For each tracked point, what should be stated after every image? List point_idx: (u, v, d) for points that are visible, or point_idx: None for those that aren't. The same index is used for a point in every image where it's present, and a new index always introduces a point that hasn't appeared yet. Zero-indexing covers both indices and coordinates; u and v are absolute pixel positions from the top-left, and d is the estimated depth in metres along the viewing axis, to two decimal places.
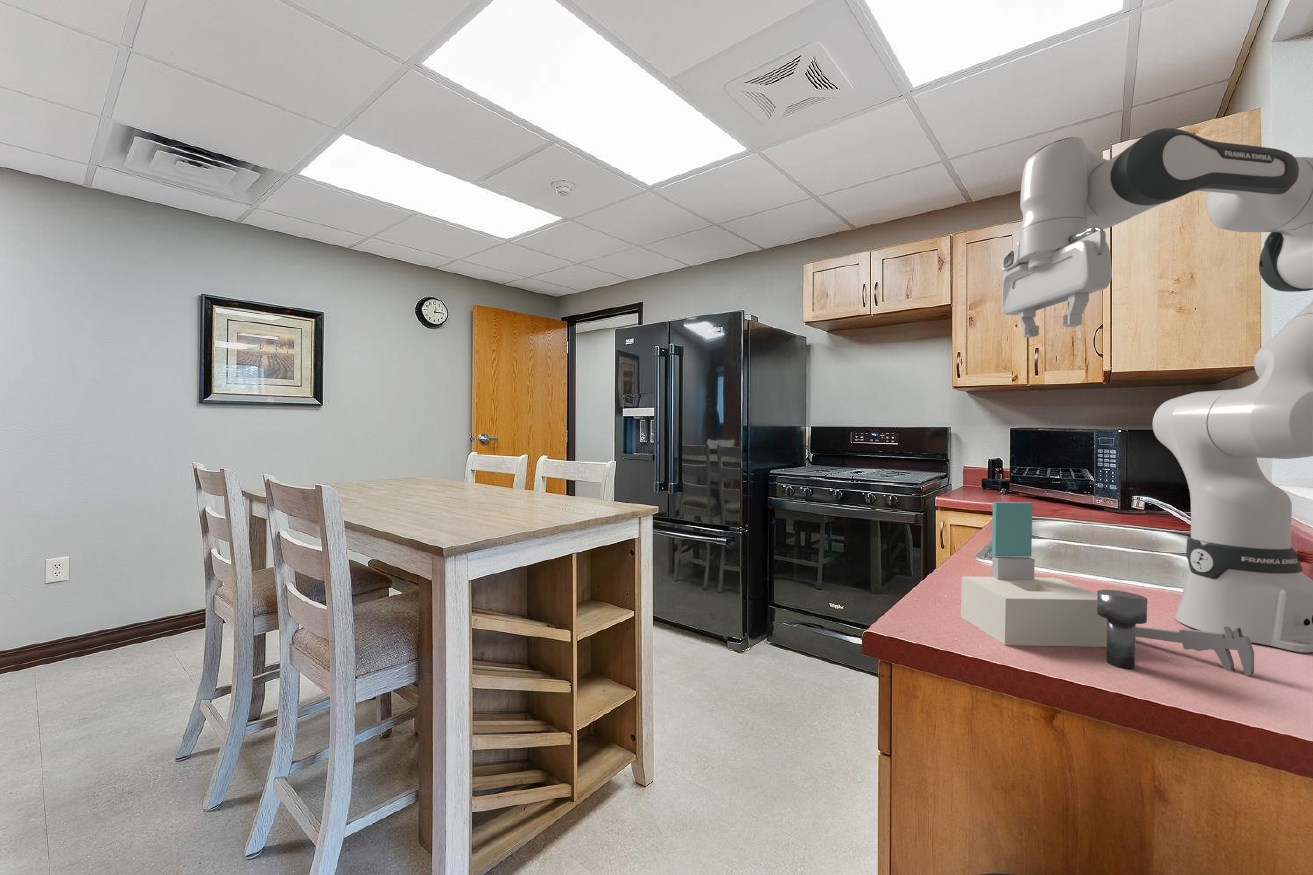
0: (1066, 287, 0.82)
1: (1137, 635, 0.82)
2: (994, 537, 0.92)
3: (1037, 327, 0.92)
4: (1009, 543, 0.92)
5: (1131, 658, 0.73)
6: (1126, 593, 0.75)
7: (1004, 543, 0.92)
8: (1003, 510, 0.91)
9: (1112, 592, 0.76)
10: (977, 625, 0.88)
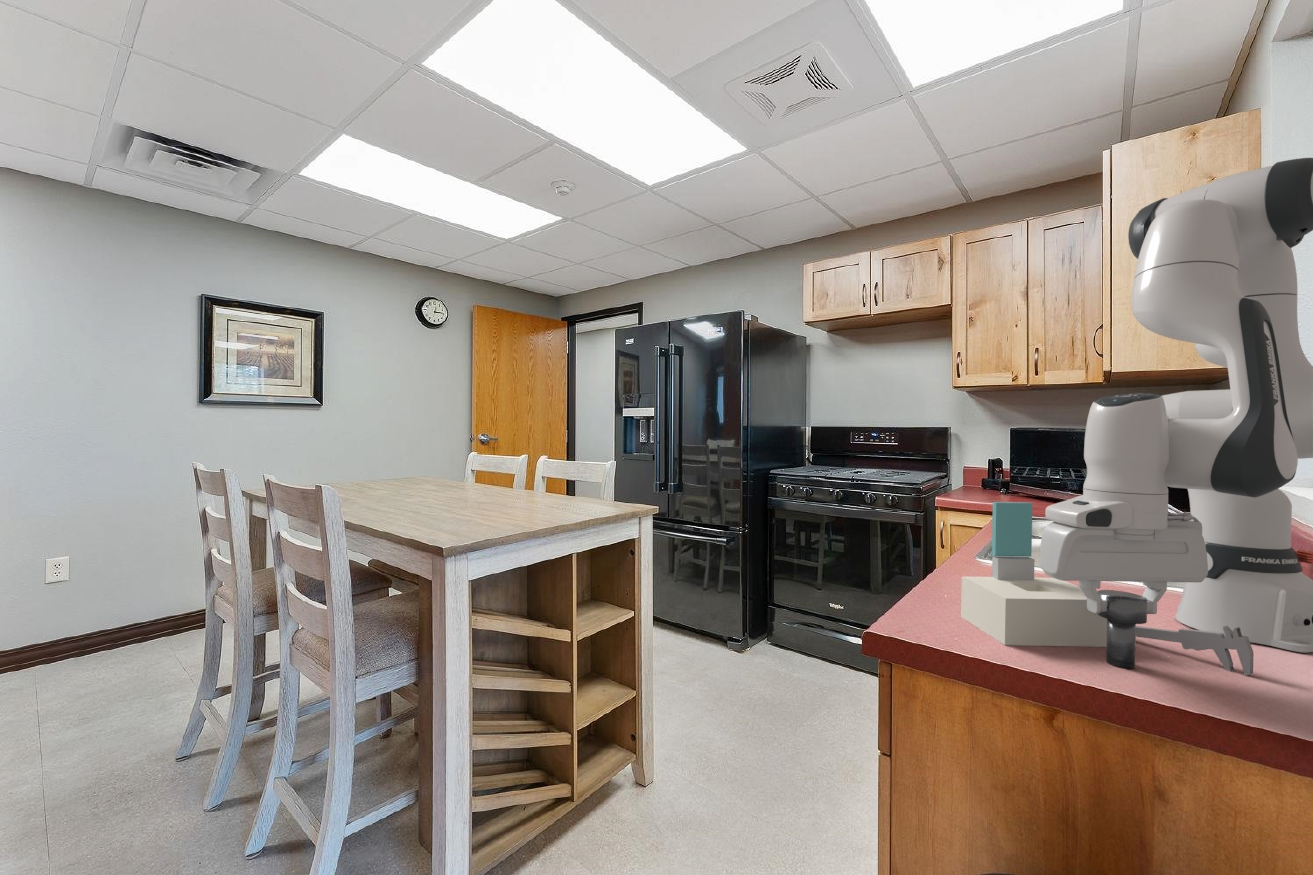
0: (1179, 576, 0.72)
1: (1136, 635, 0.82)
2: (994, 537, 0.92)
3: None
4: (1009, 543, 0.92)
5: (1131, 658, 0.73)
6: (1126, 593, 0.75)
7: (1004, 543, 0.92)
8: (1003, 510, 0.91)
9: (1112, 592, 0.76)
10: (977, 625, 0.88)
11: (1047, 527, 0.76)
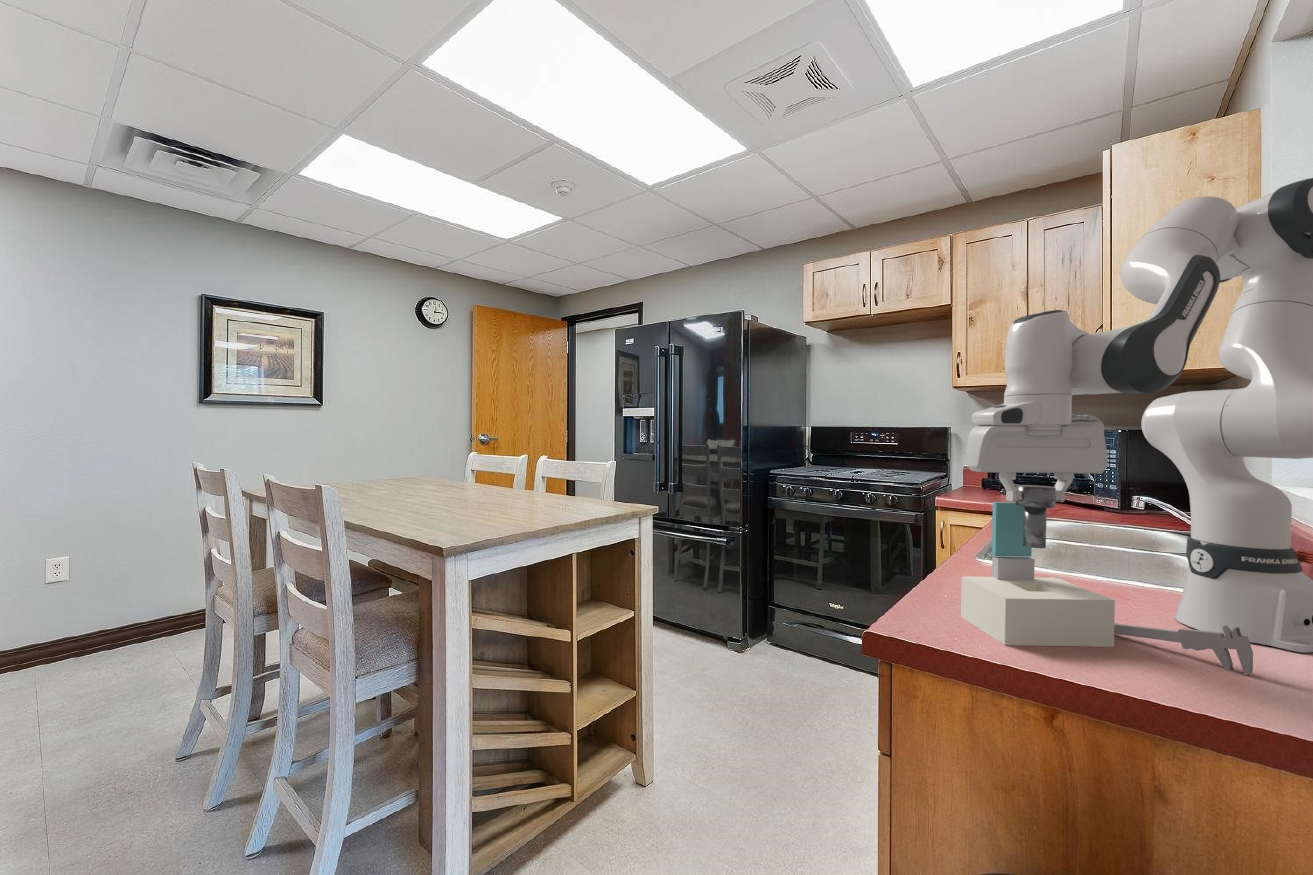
0: (1082, 467, 0.84)
1: (1136, 635, 0.82)
2: (994, 537, 0.92)
3: None
4: (1009, 543, 0.92)
5: (1042, 539, 0.85)
6: (1040, 486, 0.87)
7: (1004, 543, 0.92)
8: (1003, 510, 0.91)
9: (1028, 485, 0.87)
10: (977, 625, 0.88)
11: (972, 430, 0.88)
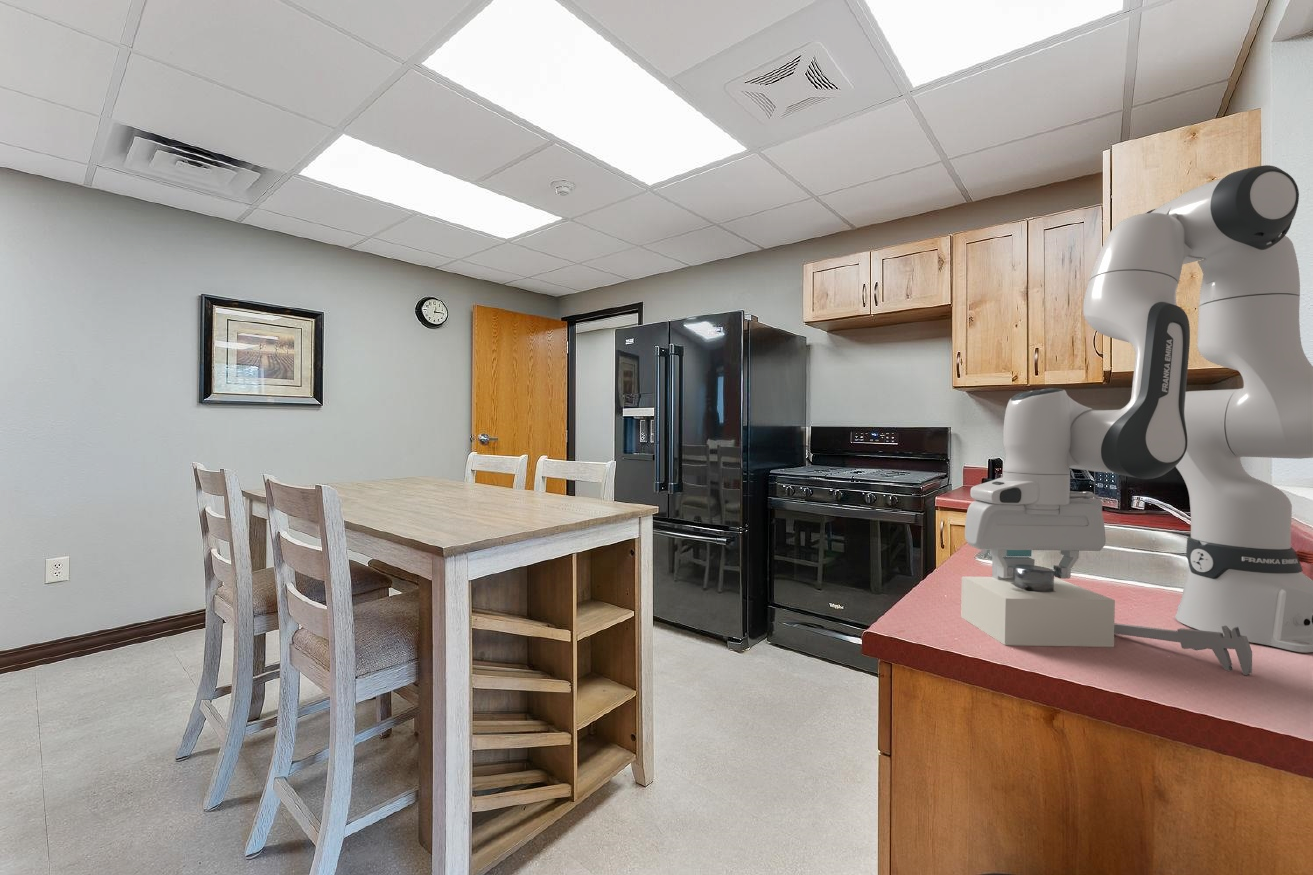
0: (1080, 545, 0.84)
1: (1135, 634, 0.82)
2: None
3: None
4: None
5: None
6: (1038, 567, 0.87)
7: None
8: None
9: (1027, 566, 0.88)
10: (977, 625, 0.88)
11: (971, 504, 0.88)
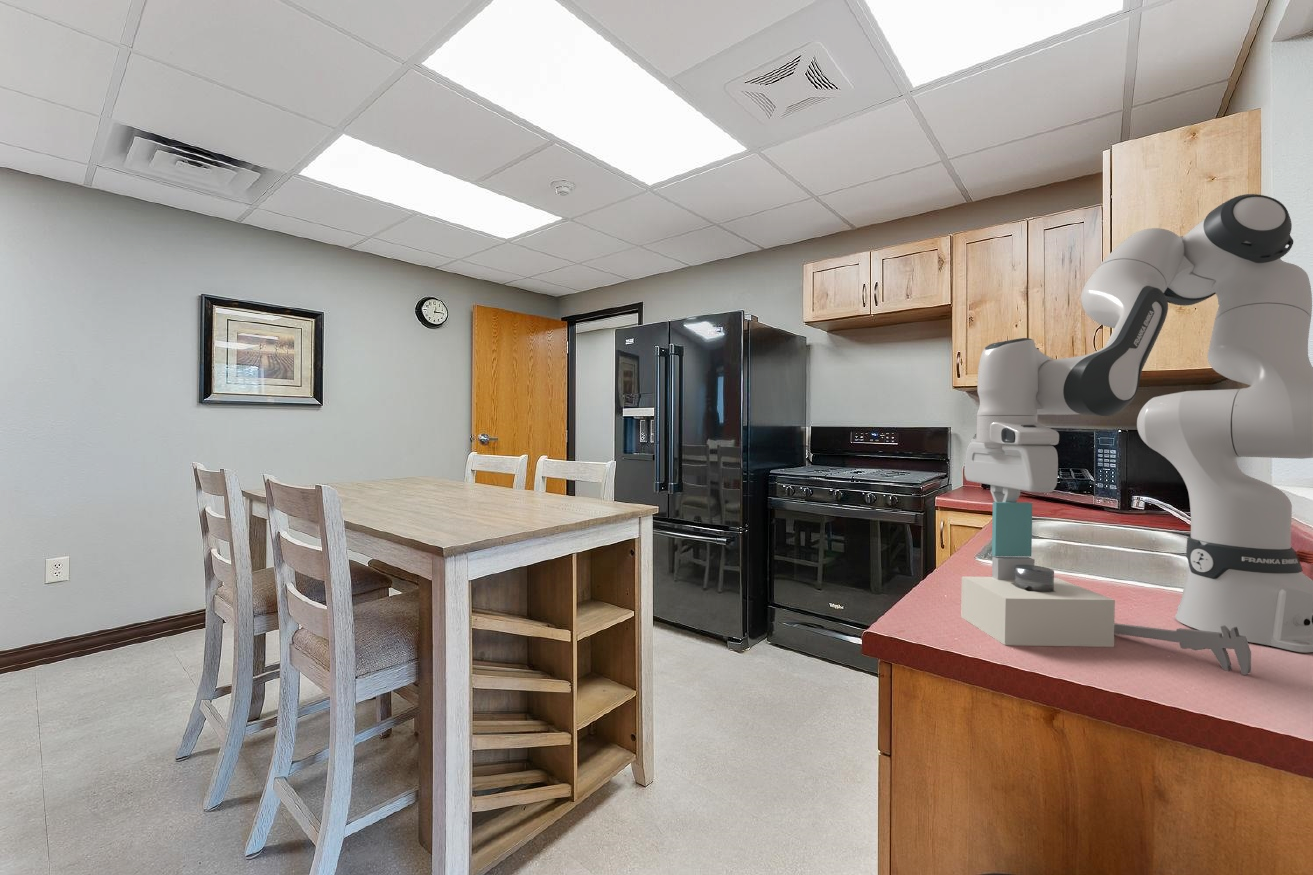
0: None
1: (1134, 634, 0.82)
2: (994, 537, 0.92)
3: None
4: (1009, 543, 0.92)
5: None
6: (1038, 567, 0.87)
7: (1004, 543, 0.92)
8: (1003, 510, 0.91)
9: (1027, 566, 0.88)
10: (977, 625, 0.88)
11: (1030, 449, 0.85)
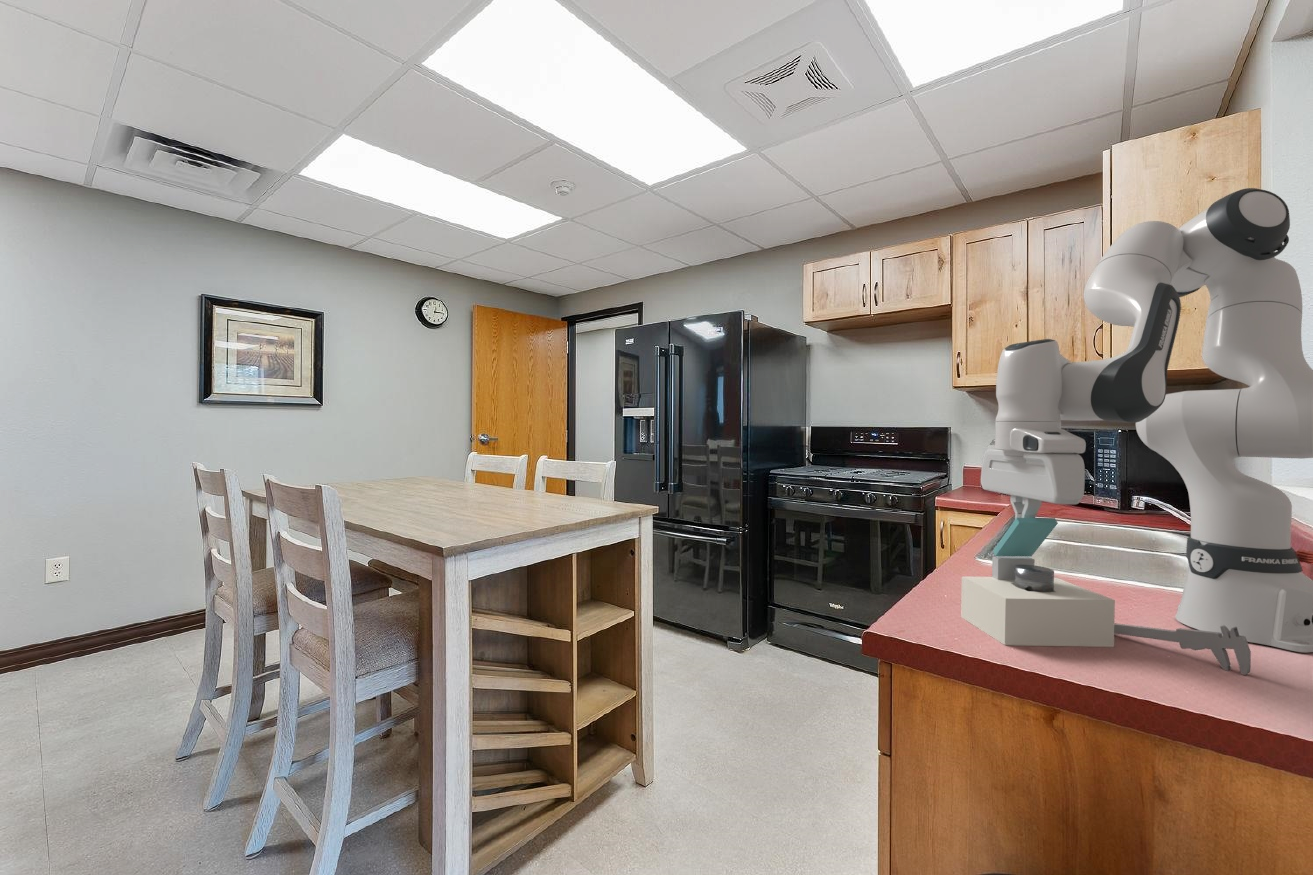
0: None
1: (1134, 634, 0.82)
2: (1002, 543, 0.90)
3: None
4: (1014, 548, 0.90)
5: None
6: (1038, 567, 0.87)
7: (1009, 548, 0.90)
8: (1023, 527, 0.86)
9: (1027, 566, 0.88)
10: (977, 625, 0.88)
11: (1054, 458, 0.79)
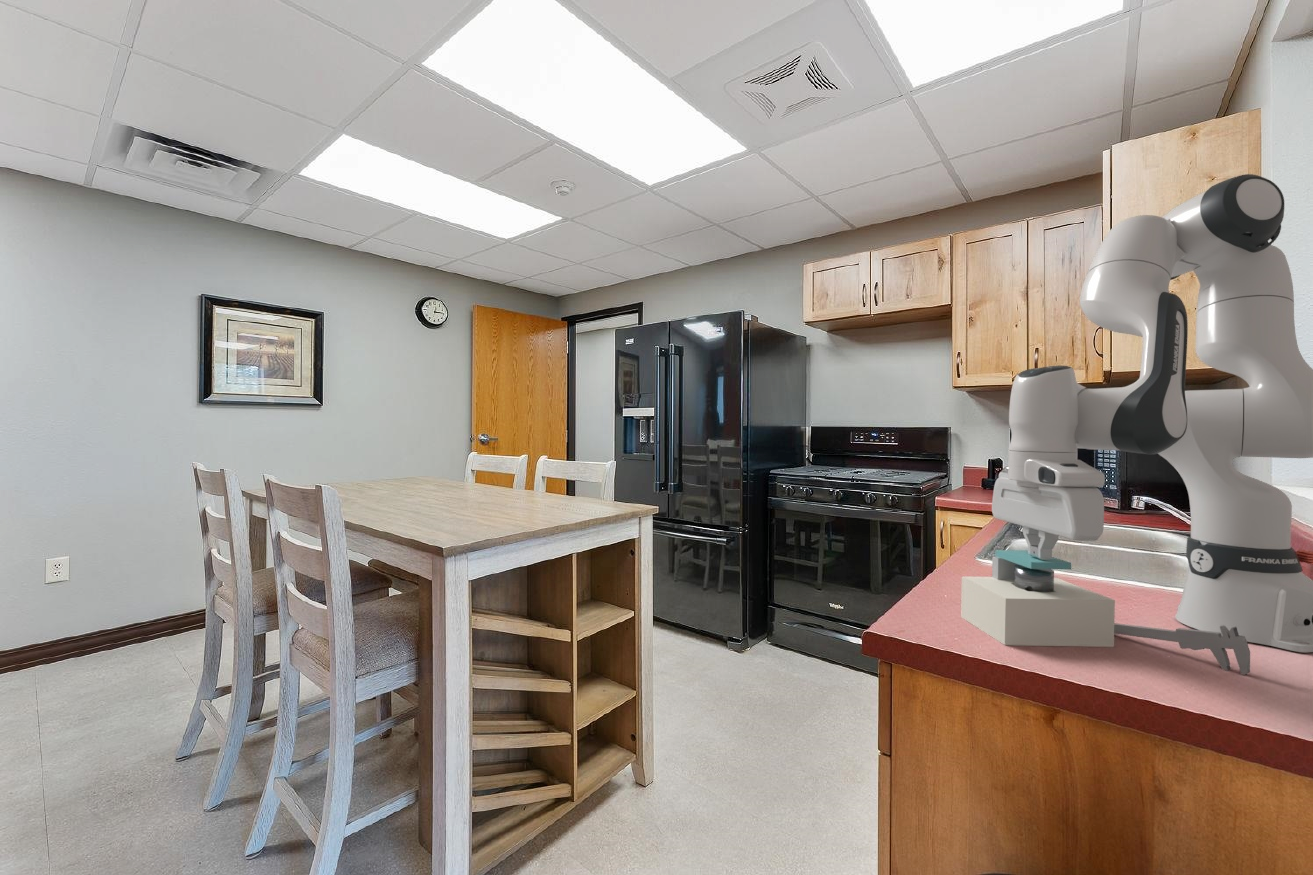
0: None
1: (1134, 634, 0.82)
2: (1006, 557, 0.89)
3: None
4: None
5: None
6: None
7: None
8: None
9: None
10: (977, 625, 0.88)
11: (1072, 493, 0.76)
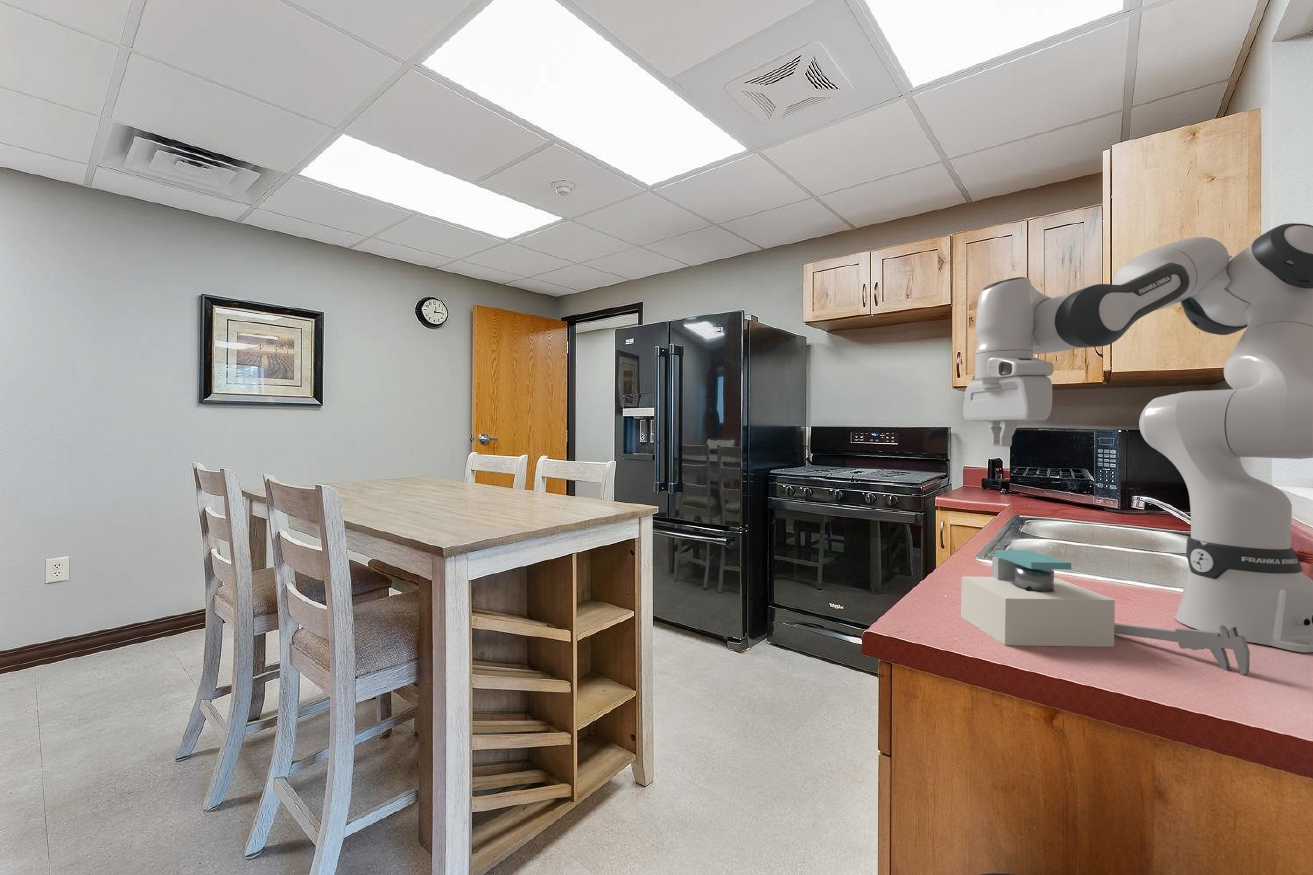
0: None
1: (1133, 634, 0.82)
2: (1006, 557, 0.89)
3: None
4: None
5: None
6: None
7: None
8: None
9: None
10: (977, 625, 0.88)
11: (1025, 379, 0.89)
